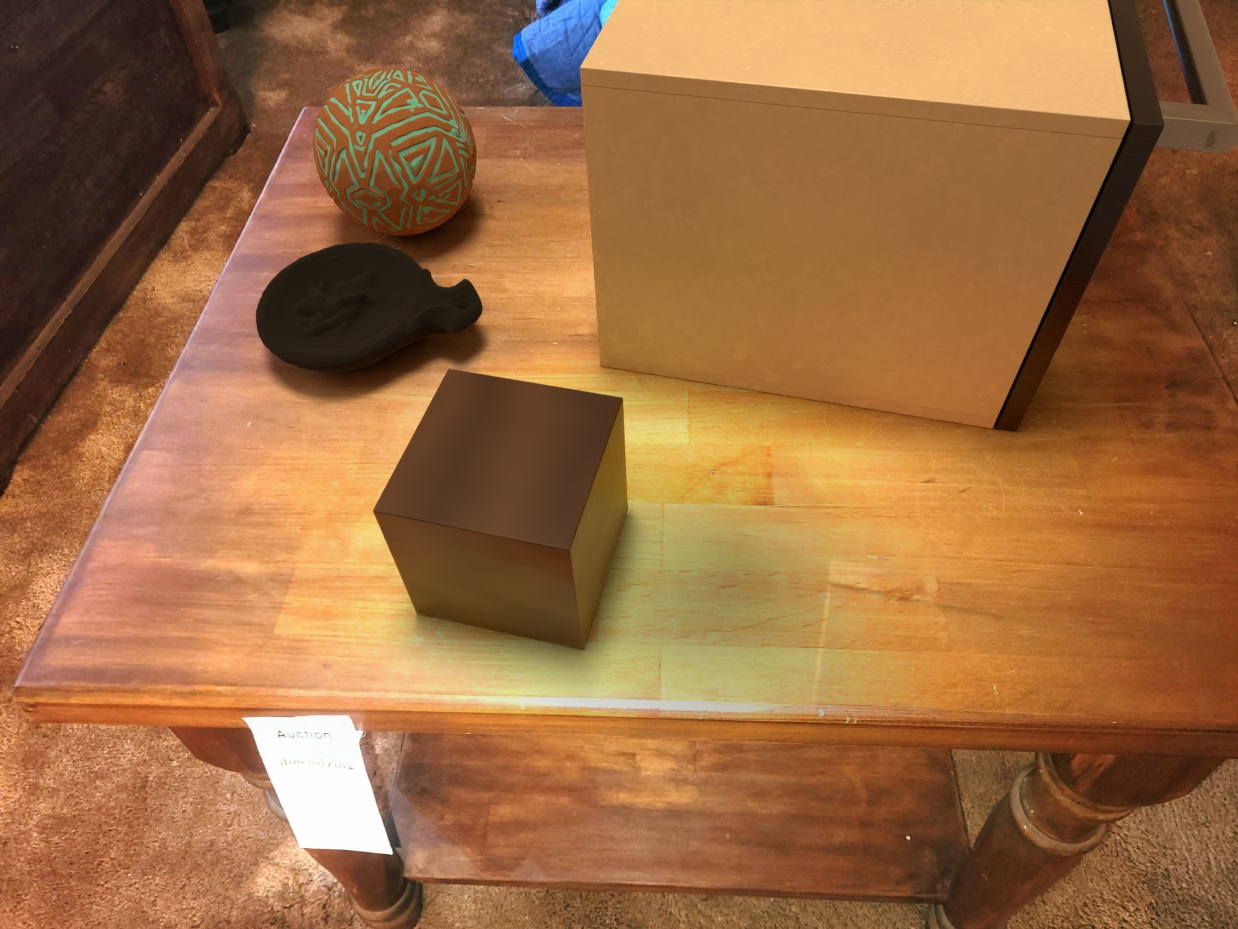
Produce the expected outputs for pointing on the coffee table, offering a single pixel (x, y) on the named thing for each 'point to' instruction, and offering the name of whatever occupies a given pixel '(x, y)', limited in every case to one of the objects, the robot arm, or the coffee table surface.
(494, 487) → the stand
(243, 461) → the coffee table surface
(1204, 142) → the oven door
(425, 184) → the decorative sphere
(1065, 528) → the coffee table surface
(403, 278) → the oil lamp
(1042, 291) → the oven
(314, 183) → the coffee table surface
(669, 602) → the coffee table surface
